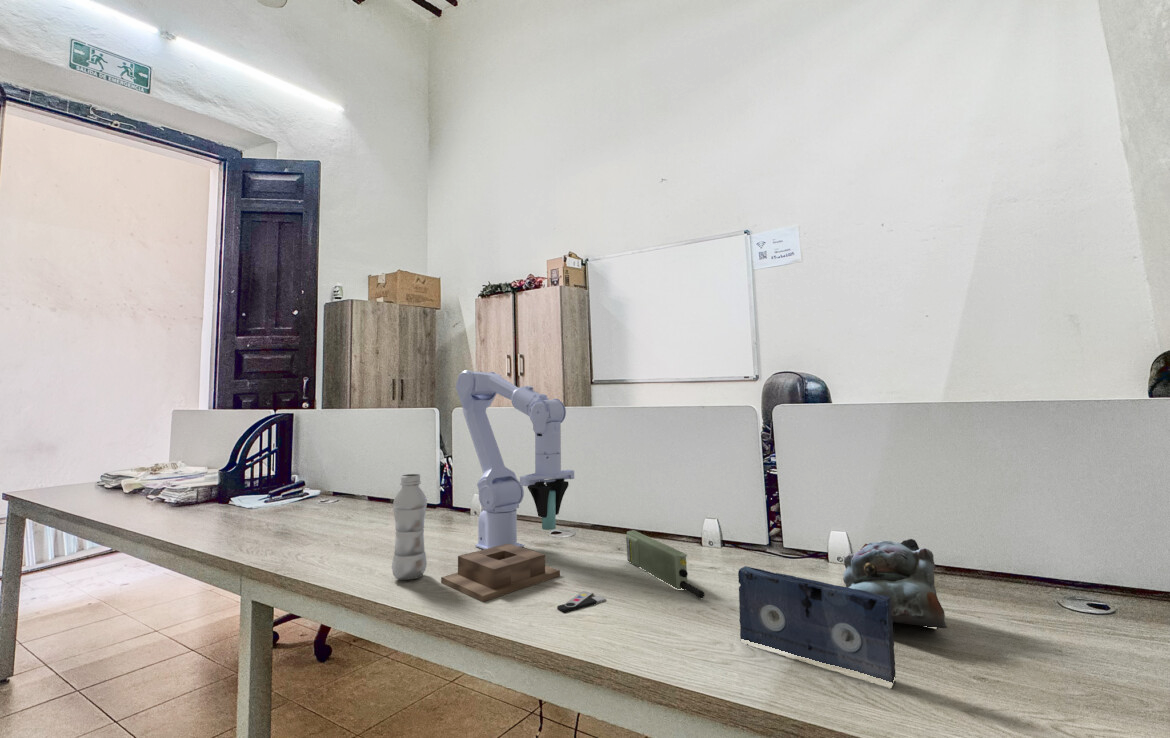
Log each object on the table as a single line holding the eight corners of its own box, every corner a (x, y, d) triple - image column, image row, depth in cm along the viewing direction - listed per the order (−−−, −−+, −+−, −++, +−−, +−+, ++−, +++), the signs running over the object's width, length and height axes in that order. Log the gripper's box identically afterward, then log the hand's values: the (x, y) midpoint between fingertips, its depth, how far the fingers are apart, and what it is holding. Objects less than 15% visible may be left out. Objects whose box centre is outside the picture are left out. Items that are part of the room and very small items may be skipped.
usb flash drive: (563, 616, 79) (563, 609, 79) (547, 605, 83) (547, 599, 83) (606, 604, 84) (606, 598, 84) (589, 594, 88) (589, 588, 88)
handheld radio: (638, 560, 107) (710, 600, 84) (625, 563, 105) (694, 605, 82) (637, 529, 107) (708, 560, 84) (623, 531, 106) (692, 564, 83)
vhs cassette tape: (897, 682, 58) (892, 595, 59) (892, 693, 56) (887, 602, 57) (748, 636, 70) (745, 564, 71) (739, 643, 68) (736, 569, 69)
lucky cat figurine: (818, 617, 76) (815, 527, 83) (869, 635, 80) (862, 548, 87) (917, 622, 64) (904, 517, 71) (972, 643, 68) (954, 541, 75)
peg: (539, 528, 108) (539, 491, 109) (549, 525, 110) (549, 489, 111) (548, 530, 106) (548, 492, 106) (558, 528, 108) (558, 491, 109)
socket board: (441, 582, 94) (441, 558, 94) (516, 561, 106) (516, 539, 107) (482, 601, 84) (482, 574, 84) (560, 575, 97) (559, 552, 97)
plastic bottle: (431, 572, 99) (433, 472, 101) (417, 584, 93) (419, 477, 94) (401, 572, 100) (403, 472, 102) (384, 583, 93) (387, 477, 95)
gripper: (534, 456, 101) (535, 523, 100) (583, 451, 112) (584, 512, 111) (513, 455, 106) (513, 519, 105) (562, 450, 117) (562, 508, 116)
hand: (548, 515), depth 108 cm, fingers closed on peg, 3 cm apart
